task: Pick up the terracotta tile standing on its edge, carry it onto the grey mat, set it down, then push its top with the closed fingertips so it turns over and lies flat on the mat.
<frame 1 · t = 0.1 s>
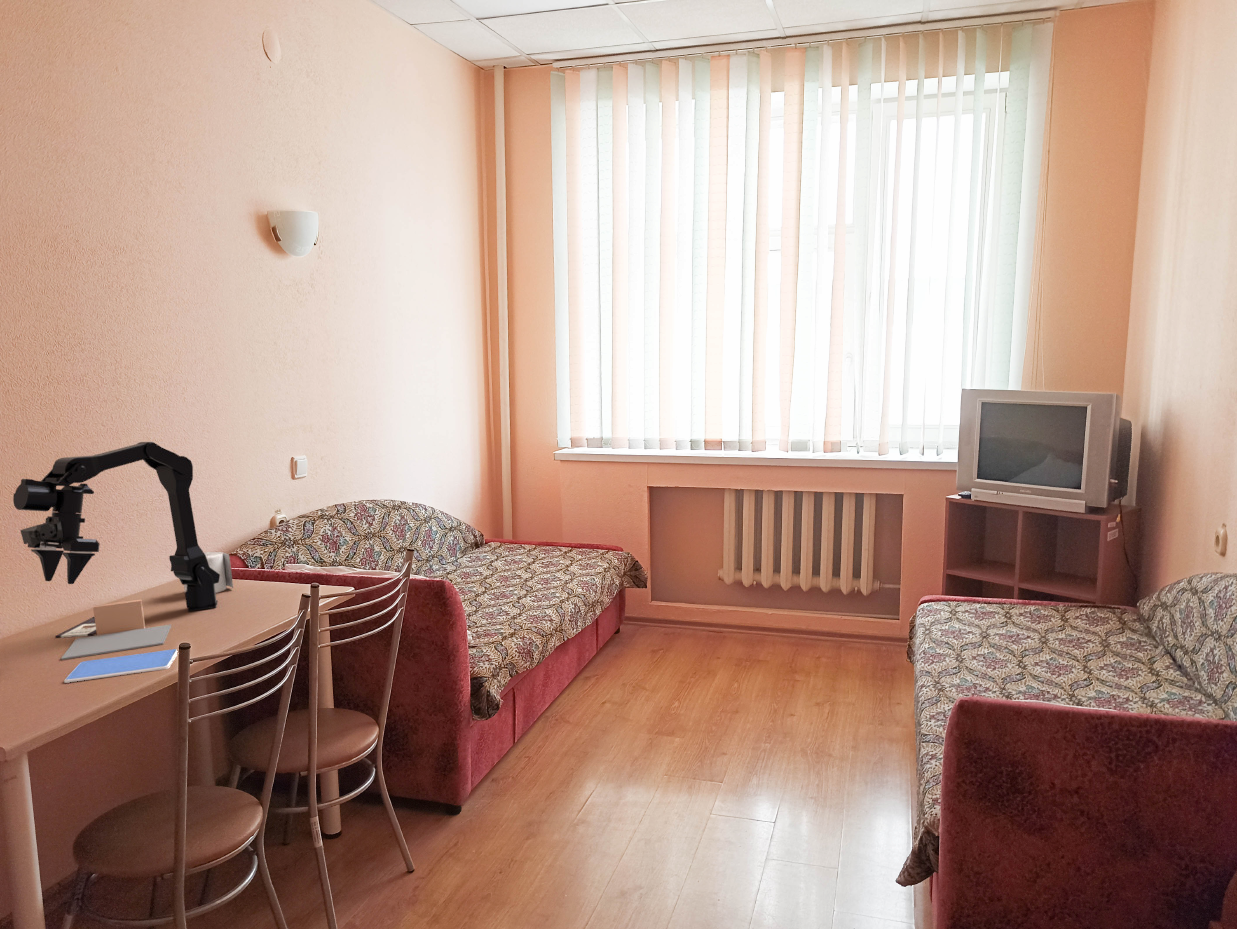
hand: (59, 582, 203), 15 cm above the table, tool pointing down, fingers open, 9 cm apart
tablet computer: (124, 670, 189), on the table
tile: (121, 631, 217), on the table
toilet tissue: (208, 591, 252), on the table
mat: (119, 642, 208), on the table
chocolate bar: (96, 628, 224), on the table
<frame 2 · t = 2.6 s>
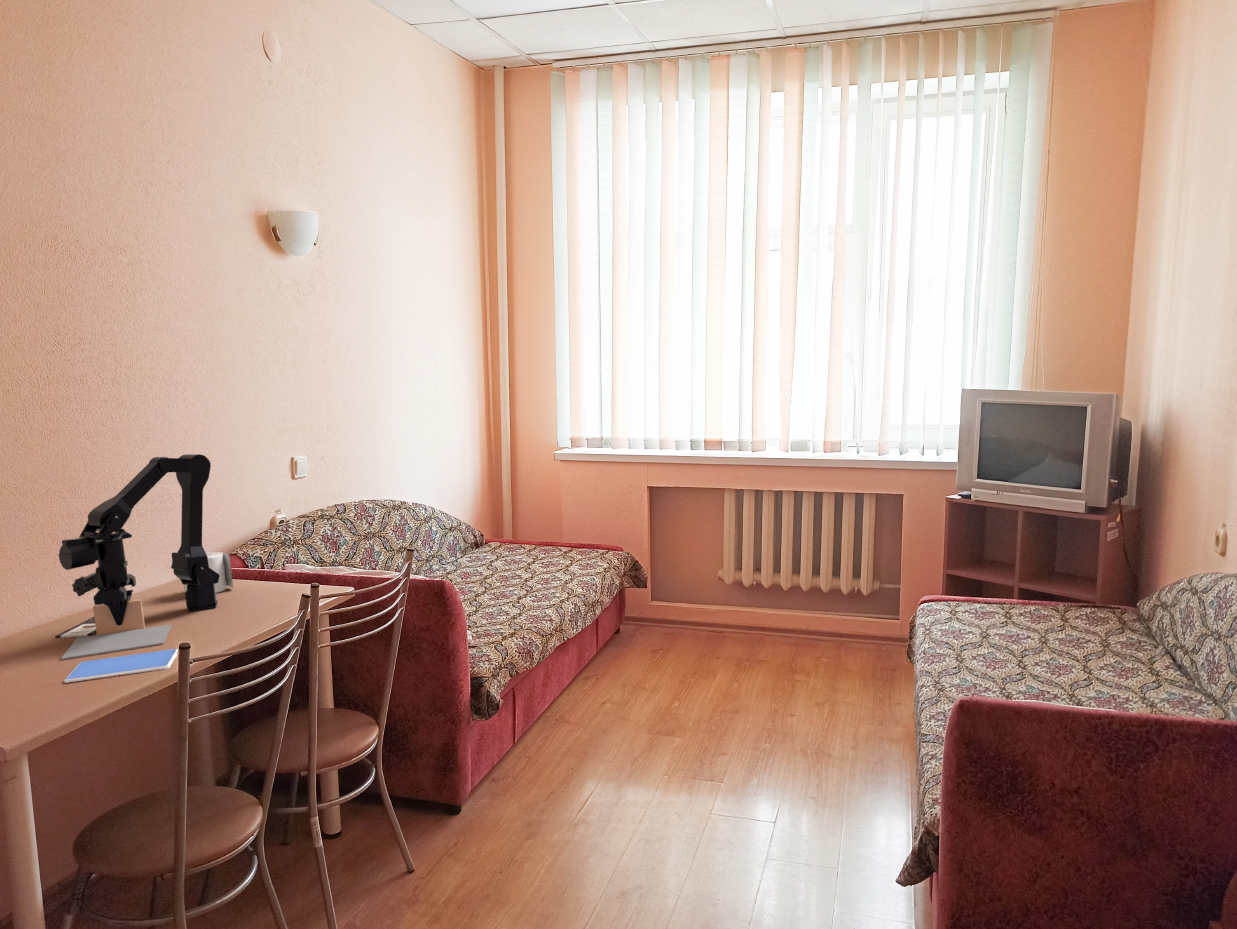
hand: (120, 623, 216), 2 cm above the table, tool pointing down, fingers closed on tile, 2 cm apart
tile: (121, 631, 217), on the table, touching gripper
everything else where it was.
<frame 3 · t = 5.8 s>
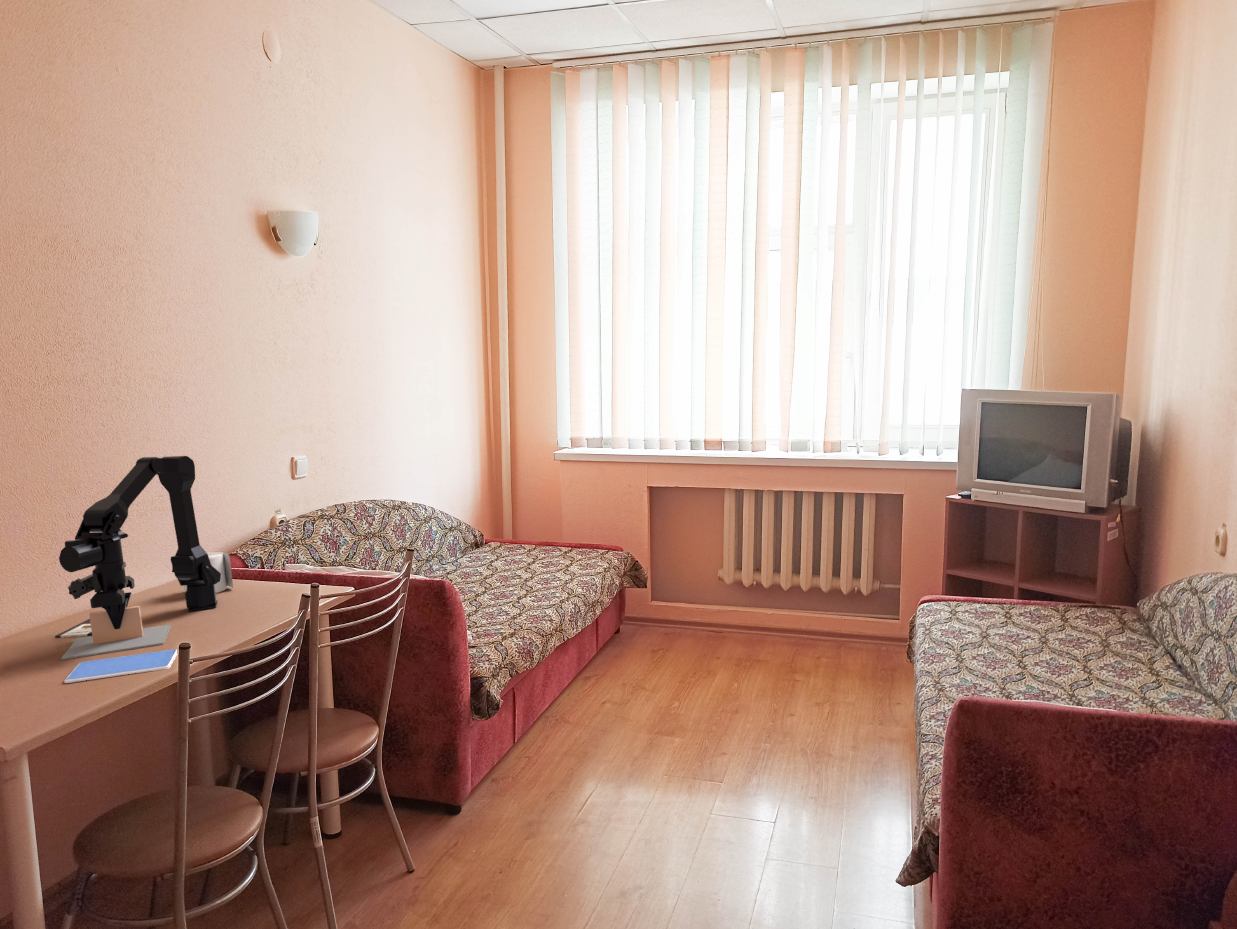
hand: (118, 627, 208), 3 cm above the table, tool pointing down, fingers closed on tile, 2 cm apart
tile: (118, 639, 208), resting on mat, touching gripper
everything else where it was.
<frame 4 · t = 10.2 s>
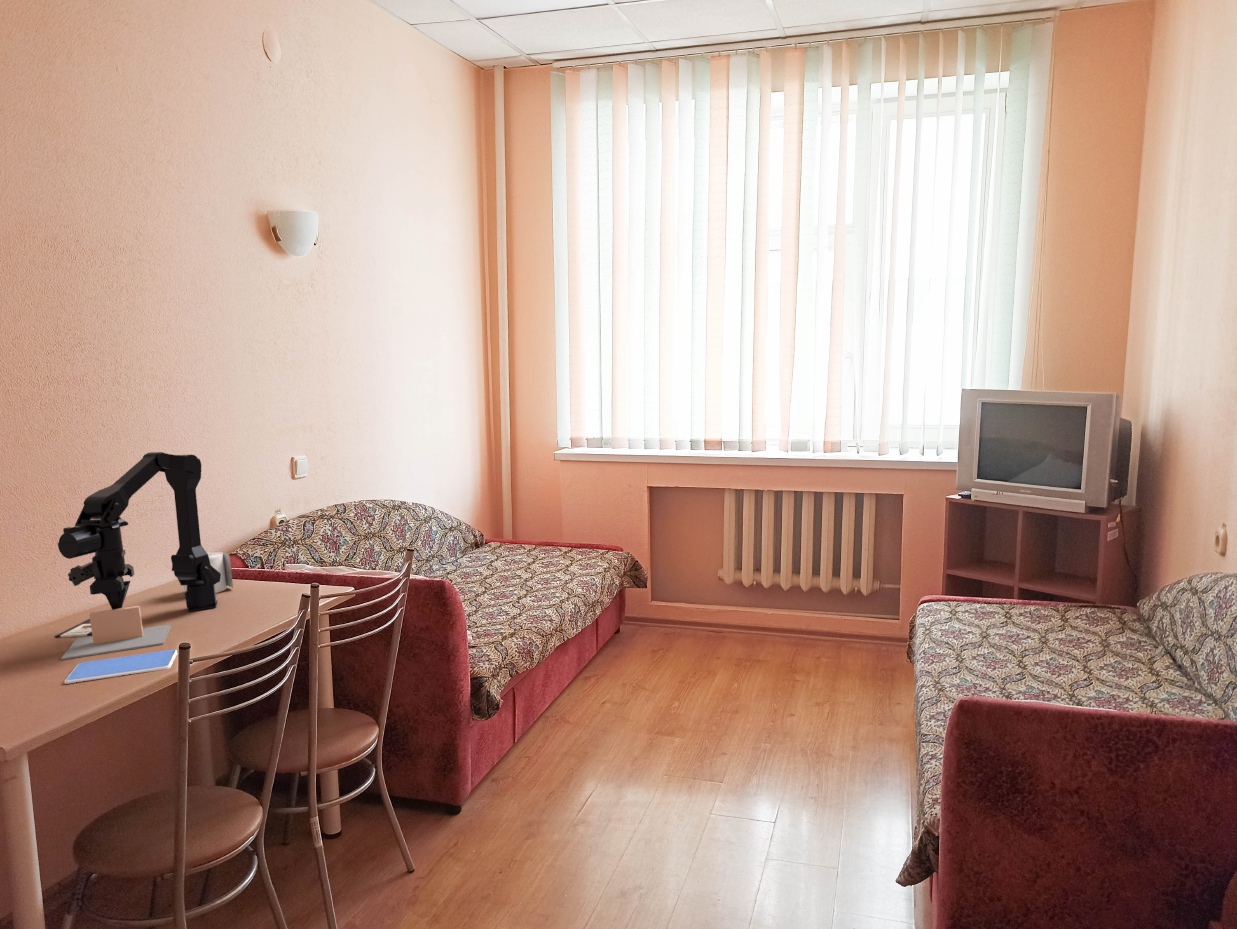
hand: (117, 615, 210), 6 cm above the table, tool pointing down, fingers closed
tile: (118, 639, 208), resting on mat, touching gripper
everything else where it was.
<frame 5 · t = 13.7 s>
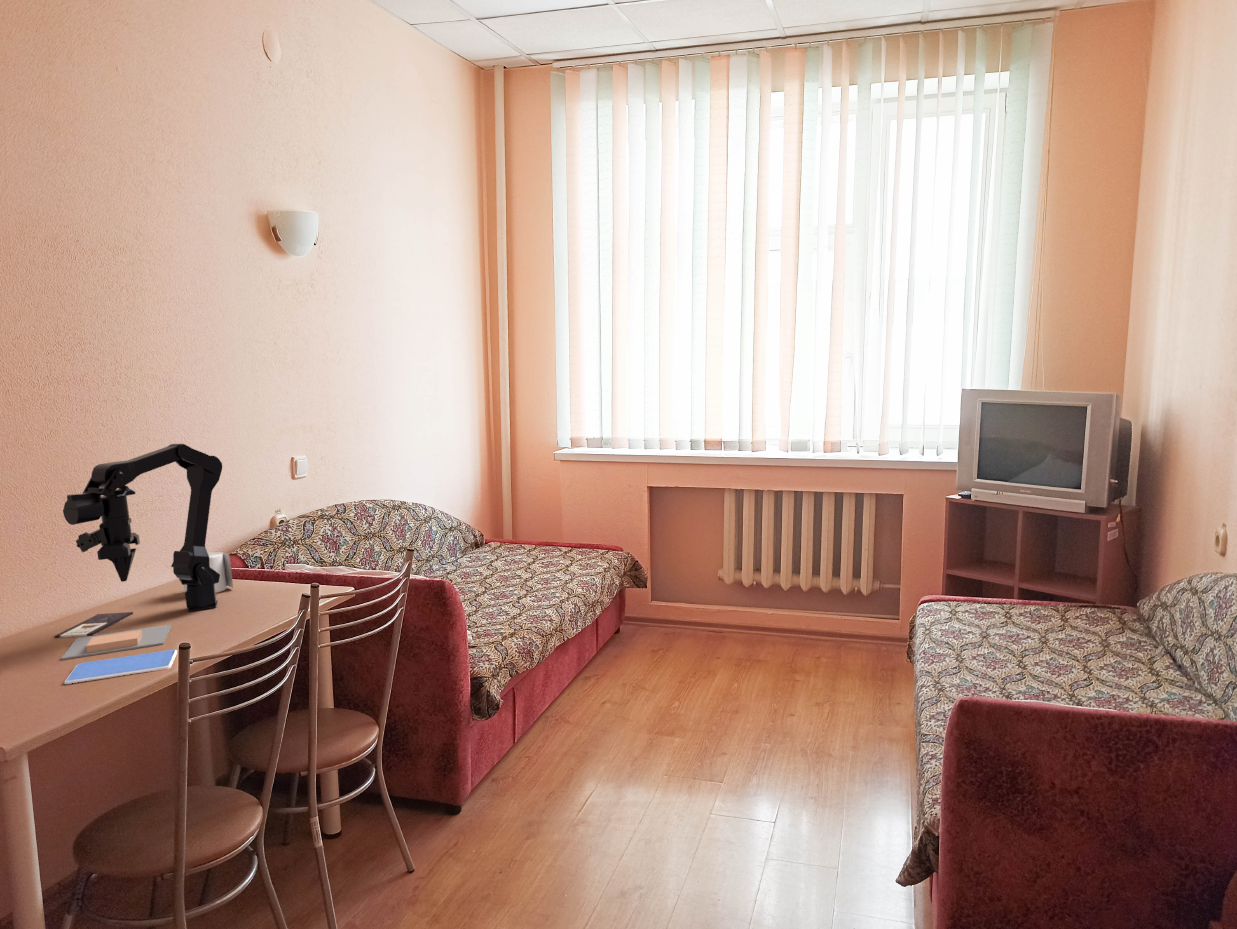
hand: (124, 581, 216), 12 cm above the table, tool pointing down, fingers closed
tile: (117, 637, 207), point 1 cm above the table, tilted 90°, touching mat
everything else where it was.
at the end: tile tilted 90°; tile inside the target area (0.3 cm from its centre), point 1.2 cm above the table; the gripper is holding nothing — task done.
